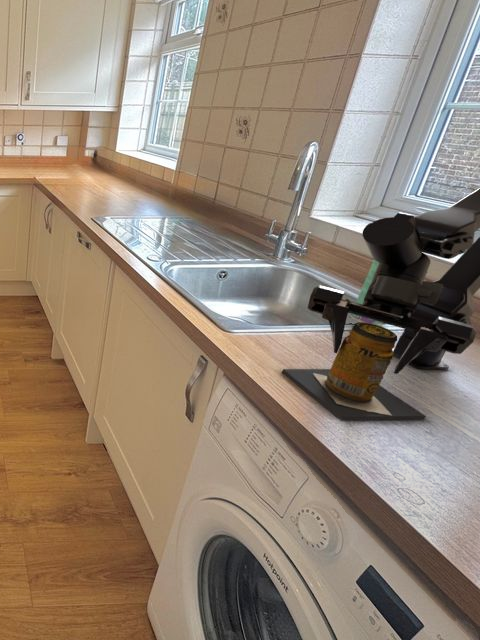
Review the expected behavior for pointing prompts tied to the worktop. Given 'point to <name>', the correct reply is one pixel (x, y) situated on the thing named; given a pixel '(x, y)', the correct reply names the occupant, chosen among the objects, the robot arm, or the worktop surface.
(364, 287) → the spray can
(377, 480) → the worktop surface
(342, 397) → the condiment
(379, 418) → the mat
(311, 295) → the robot arm
